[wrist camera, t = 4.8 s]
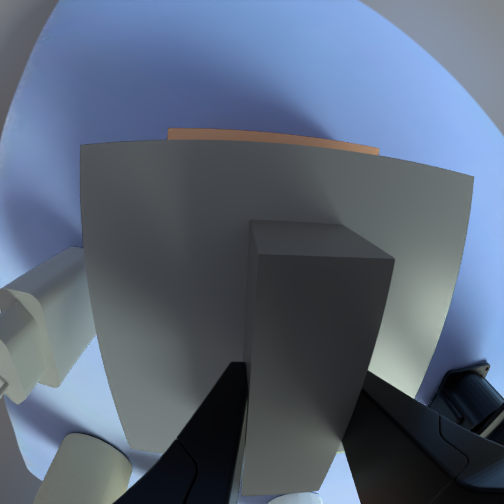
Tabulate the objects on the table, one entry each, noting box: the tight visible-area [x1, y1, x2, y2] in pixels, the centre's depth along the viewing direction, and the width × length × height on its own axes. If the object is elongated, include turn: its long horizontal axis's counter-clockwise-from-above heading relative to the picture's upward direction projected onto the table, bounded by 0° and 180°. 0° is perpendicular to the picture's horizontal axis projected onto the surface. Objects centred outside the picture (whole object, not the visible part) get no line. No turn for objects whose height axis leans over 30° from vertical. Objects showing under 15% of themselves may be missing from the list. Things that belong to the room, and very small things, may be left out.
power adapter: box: [0, 247, 96, 405], centre depth 12 cm, size 3×5×12 cm, turn 174°
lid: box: [80, 140, 474, 496], centre depth 8 cm, size 12×12×4 cm
